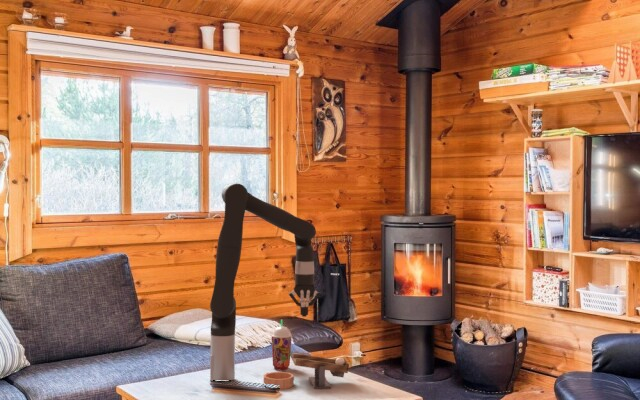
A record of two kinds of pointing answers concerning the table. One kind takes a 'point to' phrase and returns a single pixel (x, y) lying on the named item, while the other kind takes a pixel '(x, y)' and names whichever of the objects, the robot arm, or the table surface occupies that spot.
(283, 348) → the smoothie
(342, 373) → the lever
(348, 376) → the table surface
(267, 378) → the orange bowl
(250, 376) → the table surface
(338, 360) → the ball
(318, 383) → the stand
